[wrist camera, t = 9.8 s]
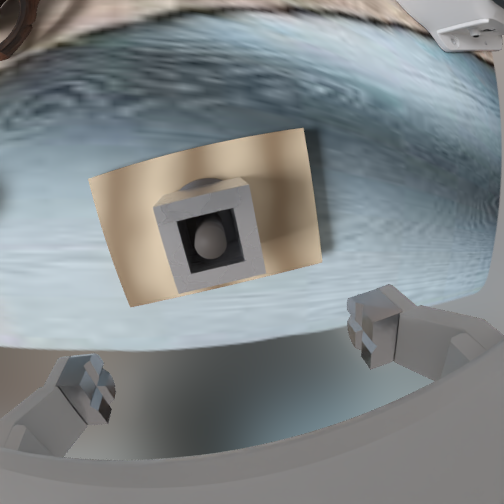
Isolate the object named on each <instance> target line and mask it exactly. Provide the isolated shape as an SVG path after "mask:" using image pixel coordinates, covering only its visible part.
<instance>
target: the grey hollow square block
mask: <svg viewBox="0 0 504 504" xmlns="http://www.w3.org/2000/svg"><path fill="white" fill-rule="evenodd" d="M225 209H231V214H232V219H233V223H234V228H235V232H236V237H237V239H233V240H229V241H227V246H226V249H225V251H224V253H223V254H222V255H221V256H219V257H217V258H215V259H206V258H204V257H202V256H200V255H199V254H198V253H197V251H196V249H193V246H192V243H191V239H190V235H189V231H188V228H187V224H186V220H185V219H188V218H192V217H196V216H200V215H204V214H208V213H213V212H217V211H221V210H225ZM153 210H154V214H155V217H156V221H157V225H158V228H159V232H160V235H161V239H162V242H163V246H164V249H165V252H166V256H167V259H168V262H169V265H170V269H171V272H172V275H173V278H174V281H175V284H176V287H177V290H178V293H179V294H181V293H185V292H190V291H194V290H198V289H203V288H207V287H211V286H216V285H220V284H224V283H229V282H233V281H237V280H241V279H245V278H249V277H254V276H258V275H262V274H266V270H265V264H264V259H263V254H262V249H261V244H260V238H259V233H258V228H257V223H256V218H255V212H254V207H253V202H252V197H251V192H250V187H249V184H248V183H247V182H245V181H244V180H243V179H242V178H240V177H236V178H232V179H227V180H223V181H218V182H214V183H210V184H205V185H201V186H197V187H193V188H189V189H185V190H181V191H177V192H173V193H169V194H165V195H163V196H162V197H161V198H160V200H159V201H158V202H157V203H156V204H155V205H154V207H153Z"/></svg>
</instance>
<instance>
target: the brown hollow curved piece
mask: <svg viewBox="0 0 504 504" xmlns="http://www.w3.org/2000/svg"><path fill="white" fill-rule="evenodd" d="M5 1H6V0H0V7H1V6H2V4H3V3H4V2H5ZM39 1H40V0H19V7H20V12H19V18H18V20H17V23H16V25H15V27H14V28H13V30H12V32H11V33H10V34H9V36H8V37H7V38H6V39H5V40H4V41H3V42H1V43H0V61H2V60H5V59H8V58H9V57H10V56H11V55H12V54H13V53H14V52H15V51H16V50H17V49H18V48H19V46H20V45H21V44H22V43H23V41H24V40H25V39H26V37H27V36H28V34H29V33H30V31H31V30H32V25H31V24H32V23H33V22H34V21H35V19H36V12H37V7H38V4H39Z"/></svg>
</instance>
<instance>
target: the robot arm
mask: <svg viewBox="0 0 504 504" xmlns="http://www.w3.org/2000/svg"><path fill="white" fill-rule="evenodd" d="M396 1H397V2H398V3H399V4H400V5H401V6H402V7H403V9H404V10H405V11H406V12H407V13H408V14H409V15H411V16H412V17H413V18H414V19H415V20H416V21H417V22H419V23H420V24H421V25H422V26H424V27H425V28H426V29H427V30H428V31H429V32H430V34H431V35H432V37H433V38H434V39H435V41H436V42H437V44H438V45H439V46H440V47H441V48H442V49H443V50H444V51H445V52H464V51H499V50H501V49H502V35H504V0H396ZM347 310H348V312H349V313H350V314H351V316H350V318H349V319H348V321H347V326H348V333H349V337H350V339H351V342H352V344H353V345H354V347H355V348H357V349H359V350H361V357H362V358H363V360H364V361H365V363H366V364H367V365H368V367H369V368H370V369H373V368H376V367H379V366H382V365H384V364H387V363H390V362H392V361H394V362H396V363H397V364H399V365H402V366H404V367H406V368H408V369H410V370H412V371H414V372H416V373H419V374H421V375H423V376H425V377H427V378H429V379H432V380H434V381H435V382H433V383H431V384H429V385H427V386H425V387H423V388H421V389H419V390H417V391H415V392H413V393H411V394H409V395H406V396H404V397H402V398H400V399H398V400H396V401H393V402H391V403H389V404H387V405H384V406H382V407H379V408H377V409H374V410H372V411H370V412H367V413H365V414H362V415H359V416H357V417H354V418H351V419H349V420H346V421H343V422H340V423H337V424H334V425H331V426H328V427H325V428H322V429H319V430H315V431H312V432H309V433H305V434H302V435H298V436H295V437H291V438H287V439H284V440H279V441H275V442H271V443H266V444H262V445H257V446H252V447H247V448H242V449H237V450H232V451H225V452H219V453H212V454H205V455H197V456H188V457H178V458H166V459H148V460H94V459H78V458H65V457H64V456H65V454H66V453H67V452H68V450H69V449H70V448H71V447H72V445H73V444H74V443H75V441H76V440H77V439H78V438H79V436H80V435H81V434H82V433H83V431H84V430H85V429H86V428H87V425H98V424H108V423H109V418H110V414H111V410H112V409H111V407H110V405H109V404H110V403H111V402H112V401H113V400H114V399H115V394H116V390H115V383H114V380H113V378H112V376H111V375H110V373H109V372H107V371H106V370H104V369H103V364H104V363H103V361H102V359H101V358H100V356H99V355H97V354H85V355H76V356H66V357H61V358H58V360H57V362H56V363H55V365H54V367H53V369H52V371H51V373H50V375H49V377H48V379H47V381H46V383H45V384H44V387H40V388H39V389H37V390H36V391H35V392H34V393H32V394H31V395H30V396H29V397H27V398H26V399H25V400H24V401H22V402H21V403H20V404H19V405H17V406H16V407H15V408H14V409H13V410H11V411H10V412H9V413H8V414H6V415H5V416H4V417H3V418H1V419H0V504H504V335H503V334H502V333H500V332H499V331H498V330H497V329H495V328H494V327H493V326H492V325H491V324H489V323H488V322H487V321H486V320H484V319H480V318H477V317H472V316H467V315H463V314H458V313H454V312H449V311H445V310H440V309H436V308H431V307H427V306H423V305H420V306H418V307H417V306H416V305H415V304H414V303H413V302H412V301H410V300H409V299H408V298H407V297H406V296H404V295H403V294H402V293H401V292H400V291H399V290H397V289H396V288H395V287H394V286H393V285H390V284H388V285H385V286H382V287H380V288H377V289H375V290H372V291H369V292H366V293H363V294H360V295H357V296H354V297H350V298H348V300H347Z"/></svg>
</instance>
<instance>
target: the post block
mask: <svg viewBox="0 0 504 504" xmlns="http://www.w3.org/2000/svg"><path fill="white" fill-rule="evenodd" d="M236 177H240V178H242V179H243V180H244V181H245V182H247V183H248V184H249V187H250V192H251V197H252V202H253V207H254V212H255V218H256V223H257V228H258V233H259V238H260V244H261V249H262V254H263V259H264V264H265V270H266V274H262V275H258V276H254V277H249V278H245V279H241V280H237V281H233V282H229V283H224V284H220V285H216V286H211V287H207V288H203V289H198V290H194V291H190V292H185V293H181V294H179V293H178V290H177V287H176V284H175V281H174V278H173V275H172V272H171V269H170V265H169V262H168V259H167V256H166V252H165V249H164V246H163V242H162V239H161V235H160V232H159V228H158V225H157V221H156V217H155V214H154V210H153V207H154V205H155V204H156V203H157V202H158V201H159V200H160V198H161V197H162V196H163V195H165V194H169V193H173V192H177V191H181V190H185V189H189V188H193V187H197V186H201V185H205V184H210V183H214V182H218V181H223V180H227V179H232V178H236ZM88 180H89V184H90V188H91V192H92V196H93V199H94V203H95V206H96V210H97V213H98V217H99V220H100V223H101V227H102V230H103V233H104V236H105V239H106V242H107V245H108V248H109V251H110V254H111V257H112V260H113V263H114V266H115V269H116V271H117V274H118V277H119V279H120V282H121V285H122V287H123V290H124V292H125V295H126V298H127V300H128V303H129V305H130V307H134V306H139V305H144V304H149V303H153V302H158V301H162V300H167V299H171V298H176V297H180V296H185V295H189V294H194V293H198V292H202V291H207V290H211V289H216V288H220V287H224V286H228V285H233V284H237V283H241V282H245V281H249V280H254V279H258V278H262V277H266V276H270V275H274V274H278V273H282V272H286V271H290V270H294V269H298V268H302V267H306V266H310V265H314V264H318V263H322V255H321V246H320V237H319V229H318V221H317V213H316V205H315V198H314V191H313V184H312V177H311V171H310V165H309V158H308V152H307V146H306V141H305V135H304V129H303V128H299V129H292V130H285V131H279V132H272V133H266V134H260V135H255V136H249V137H244V138H239V139H234V140H229V141H224V142H219V143H214V144H210V145H205V146H201V147H197V148H192V149H188V150H184V151H180V152H176V153H172V154H168V155H165V156H161V157H157V158H154V159H150V160H147V161H143V162H140V163H136V164H133V165H130V166H126V167H123V168H120V169H117V170H114V171H111V172H108V173H104V174H101V175H99V176H96V177H93V178H90V179H88ZM185 220H186V224H187V228H188V231H189V235H190V239H191V243H192V246H193V249H196V251H197V253H198V254H199V255H200V256H202V257H204V258H206V259H215V258H217V257H219V256H221V255H222V254H223V253H224V251H225V249H226V246H227V241H229V240H233V239H237V237H236V232H235V228H234V223H233V219H232V214H231V209H225V210H221V211H217V212H213V213H208V214H204V215H200V216H196V217H192V218H188V219H185Z"/></svg>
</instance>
